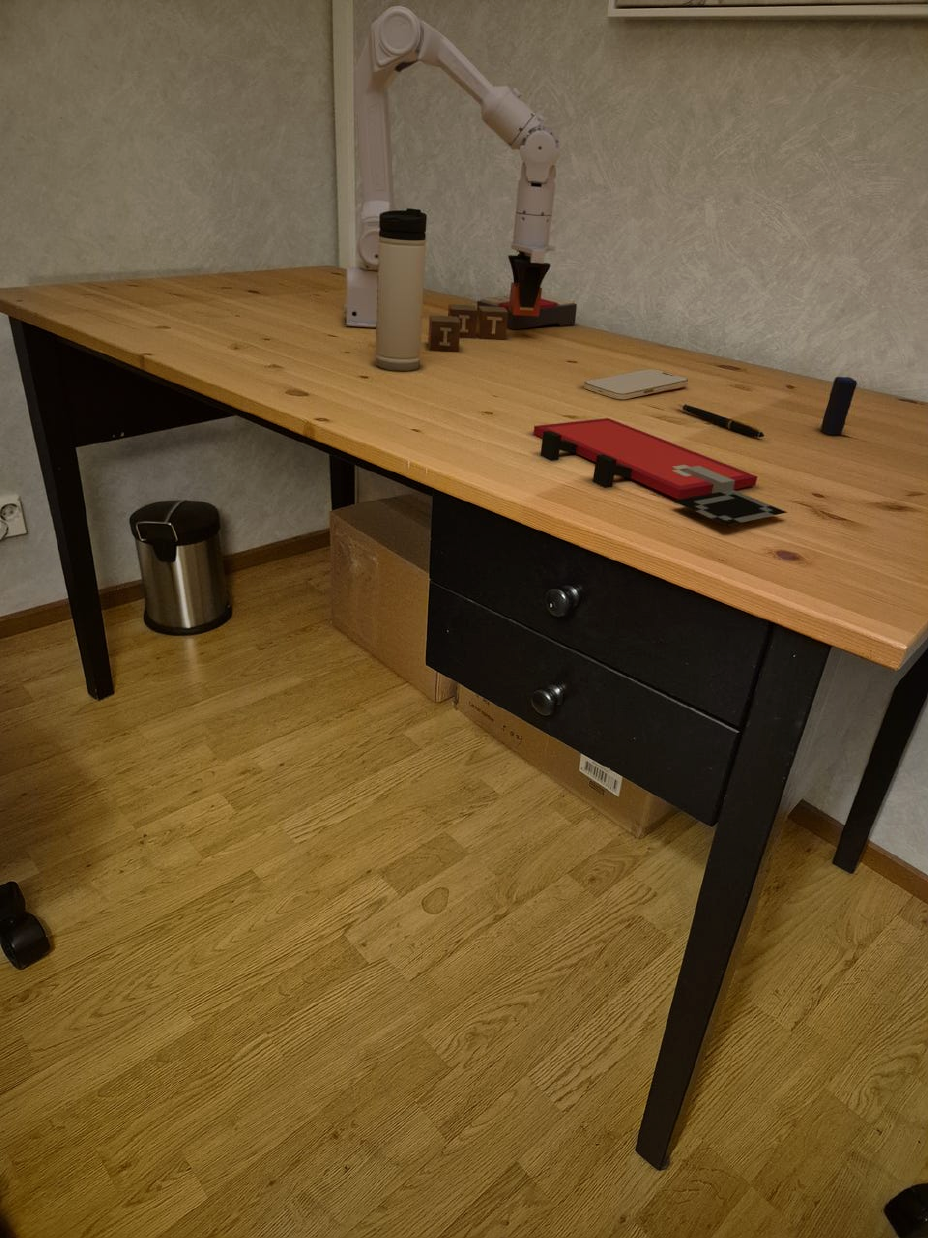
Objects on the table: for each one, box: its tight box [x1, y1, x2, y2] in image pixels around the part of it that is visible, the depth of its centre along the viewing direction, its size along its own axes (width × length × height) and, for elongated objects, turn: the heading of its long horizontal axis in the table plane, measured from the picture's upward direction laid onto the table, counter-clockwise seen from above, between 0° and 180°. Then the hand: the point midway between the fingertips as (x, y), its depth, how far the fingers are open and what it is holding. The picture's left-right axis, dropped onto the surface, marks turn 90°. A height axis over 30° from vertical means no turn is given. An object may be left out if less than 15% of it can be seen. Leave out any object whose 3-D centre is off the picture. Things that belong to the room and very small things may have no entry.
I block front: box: [427, 314, 461, 353], centre depth 133 cm, size 4×4×4 cm
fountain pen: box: [676, 403, 765, 439], centre depth 107 cm, size 14×1×2 cm, turn 35°
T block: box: [476, 306, 508, 341], centre depth 143 cm, size 4×4×4 cm
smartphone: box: [583, 368, 689, 400], centre depth 120 cm, size 7×1×15 cm
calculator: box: [476, 293, 578, 330], centre depth 157 cm, size 11×4×15 cm
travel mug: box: [374, 207, 428, 372], centre depth 117 cm, size 6×7×20 cm
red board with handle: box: [533, 417, 788, 526], centre depth 89 cm, size 30×3×15 cm
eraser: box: [820, 376, 858, 437], centre depth 106 cm, size 2×2×7 cm
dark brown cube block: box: [447, 303, 478, 339], centre depth 143 cm, size 4×4×4 cm
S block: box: [509, 281, 543, 316], centre depth 142 cm, size 4×4×4 cm
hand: (524, 304), depth 142 cm, fingers closed on S block, 4 cm apart
